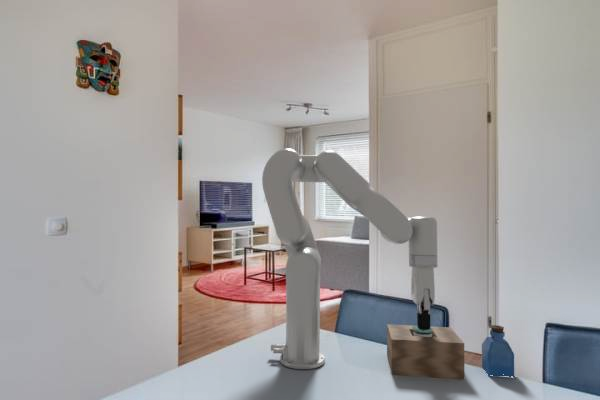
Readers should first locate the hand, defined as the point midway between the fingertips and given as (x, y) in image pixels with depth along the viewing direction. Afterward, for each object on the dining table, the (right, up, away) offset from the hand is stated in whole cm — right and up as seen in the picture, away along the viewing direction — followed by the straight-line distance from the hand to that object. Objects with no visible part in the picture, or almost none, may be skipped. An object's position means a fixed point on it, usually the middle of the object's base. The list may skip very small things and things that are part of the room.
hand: (423, 328), depth 106 cm
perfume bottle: (+18, -11, -4) cm, 22 cm away
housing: (0, -10, 0) cm, 10 cm away
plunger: (0, -9, 0) cm, 9 cm away
